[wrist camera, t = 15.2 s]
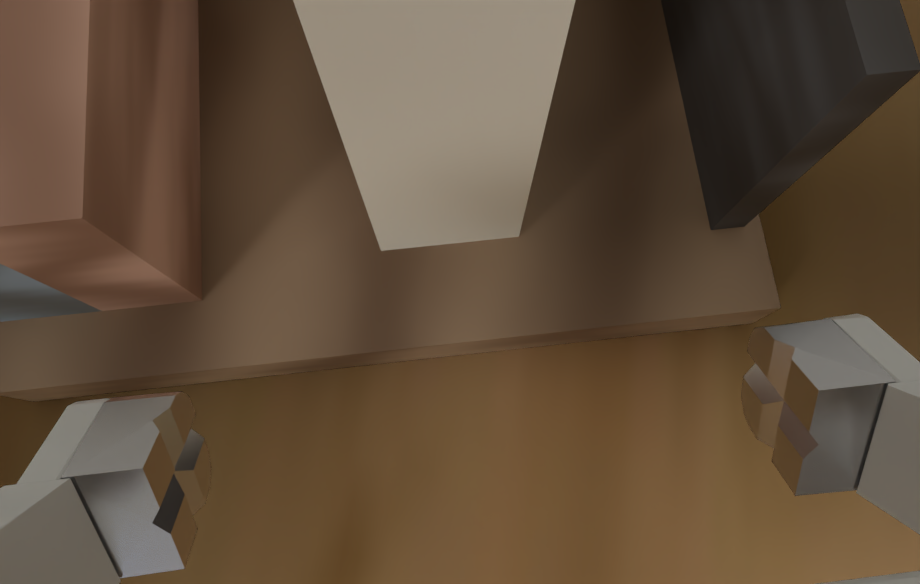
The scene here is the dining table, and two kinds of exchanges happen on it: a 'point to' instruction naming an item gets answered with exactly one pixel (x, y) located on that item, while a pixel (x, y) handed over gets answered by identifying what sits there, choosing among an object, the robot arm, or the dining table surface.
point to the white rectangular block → (439, 108)
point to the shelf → (341, 204)
